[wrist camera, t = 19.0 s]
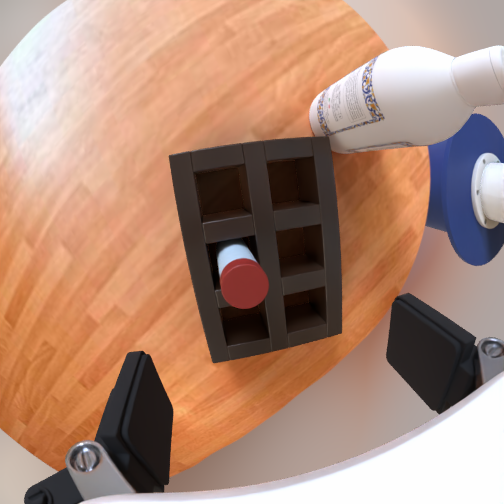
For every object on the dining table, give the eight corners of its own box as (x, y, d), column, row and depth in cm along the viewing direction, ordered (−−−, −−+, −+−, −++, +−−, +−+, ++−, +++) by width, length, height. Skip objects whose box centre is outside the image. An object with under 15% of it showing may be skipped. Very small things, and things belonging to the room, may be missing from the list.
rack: (307, 143, 25) (329, 135, 20) (322, 311, 30) (342, 333, 25) (175, 160, 23) (168, 155, 18) (210, 335, 28) (213, 363, 23)
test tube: (243, 230, 26) (266, 260, 16) (248, 259, 27) (271, 304, 17) (212, 235, 26) (217, 269, 16) (218, 265, 26) (225, 313, 17)
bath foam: (377, 119, 25) (541, 90, 6) (348, 168, 26) (533, 175, 7) (328, 77, 23) (477, -10, 4) (294, 125, 24) (463, 47, 5)
